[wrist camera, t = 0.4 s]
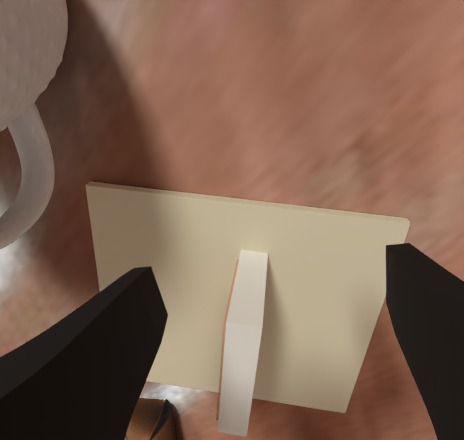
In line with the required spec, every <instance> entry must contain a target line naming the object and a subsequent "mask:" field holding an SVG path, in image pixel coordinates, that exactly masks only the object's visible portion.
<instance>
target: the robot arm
mask: <svg viewBox="0 0 464 440" xmlns="http://www.w3.org/2000/svg"><path fill="white" fill-rule="evenodd" d="M386 303H387V307H388V310H389V314H390V318H391V321H392V325H393V328H394V332H395V335H396V337H397V339H398V342H399V344H400V347H401V349H402V351H403V354H404V356H405V359H406V361H407V363H408V366H409V368H410V370H411V373H412V375H413V377H414V380H415V382H416V384H417V387H418V389H419V391H420V394H421V396H422V398H423V401H424V403H425V405H426V408H427V410H428V413H429V416H430V418H431V421H432V424H433V426H434V429H435V432H436V436H437V439H438V440H464V281H462V280H461V279H459V278H458V277H456V276H455V275H453V274H452V273H450V272H449V271H447V270H446V269H444V268H443V267H442V266H440V265H439V264H437V263H436V262H435V261H433V260H432V259H430V258H429V257H428V256H426V255H425V254H423V253H422V252H421V251H419V250H418V249H417V248H415V247H414V246H412V245H411V244H409V243H405V244H394V245H386ZM167 318H168V313H167V310H166V307H165V304H164V302H163V299H162V296H161V293H160V290H159V287H158V284H157V282H156V279H155V276H154V273H153V270H152V267H151V266H149V267H138V268H133V269H131V270H130V271H128V272H127V273H125V274H124V275H122V276H121V277H119V278H118V279H117V280H115V281H114V282H113V283H111V284H110V285H109V286H107V287H106V288H105V289H103V290H102V291H101V292H99V293H98V294H97V295H95V296H94V297H93V298H91V299H90V300H89V301H87V302H86V303H85V304H83V305H82V306H80V307H79V308H78V309H76V310H75V311H73V312H72V313H70V314H69V315H68V316H66V317H65V318H63V319H62V320H60V321H59V322H58V323H56V324H55V325H53V326H52V327H50V328H49V329H47V330H46V331H44V332H43V333H41V334H40V335H38V336H36V337H35V338H33V339H31V340H30V341H28V342H26V343H25V344H23V345H21V346H20V347H18V348H16V349H15V350H13V351H11V352H9V353H7V354H6V355H4V356H2V357H0V440H124V439H125V436H126V432H127V429H128V426H129V423H130V420H131V417H132V414H133V412H134V409H135V406H136V404H137V401H138V399H139V397H140V394H141V392H142V389H143V387H144V384H145V382H146V380H147V377H148V375H149V372H150V370H151V367H152V365H153V362H154V360H155V357H156V355H157V352H158V350H159V347H160V345H161V342H162V338H163V334H164V331H165V326H166V322H167Z"/></svg>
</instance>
